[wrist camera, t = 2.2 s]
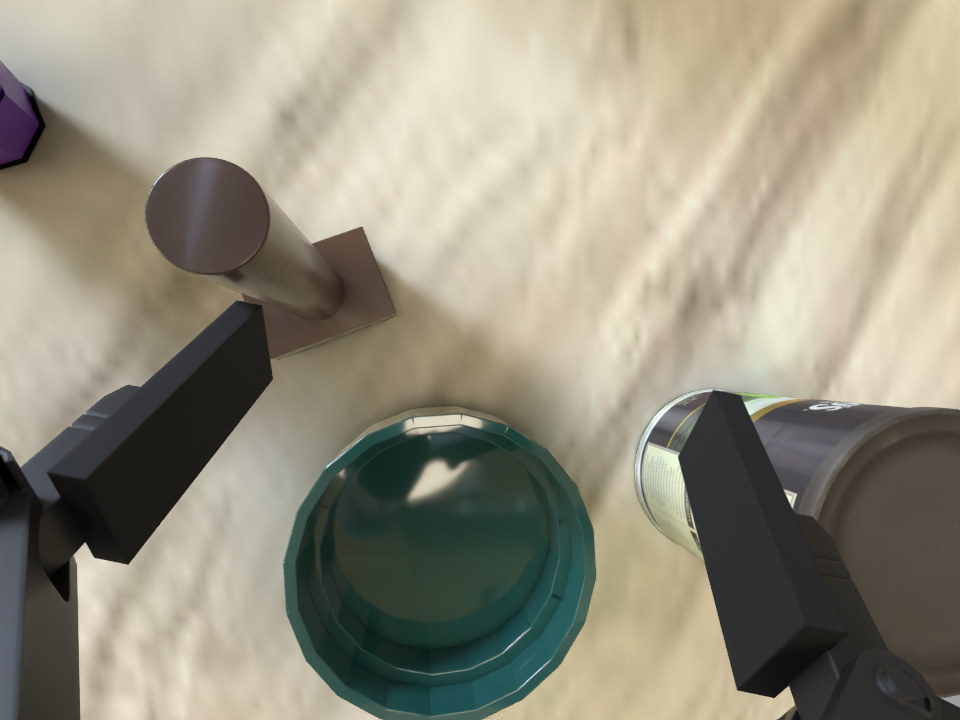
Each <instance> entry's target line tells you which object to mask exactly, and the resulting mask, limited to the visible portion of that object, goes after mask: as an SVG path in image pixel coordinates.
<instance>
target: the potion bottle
mask: <svg viewBox="0 0 960 720" xmlns="http://www.w3.org/2000/svg"><path fill="white" fill-rule="evenodd" d="M44 128H45V123H44V121H43V118H42V116H41V113H40V111H39V108H38V106H37V103H36V101H35V99H34V96H33V94H32V91H31V89H30V87H28V86H26V85H24V84H22V83H20V82H19V81H18V80H17V79H16V78H15V77H14V75H13V74H12V73H11V72H10V71H9V70H8V69H7V67H6V66H5V65H4V64H3V63H2V62H1V61H0V170H1V169H5V168H8V167H12V166H15V165H18V164H22V163H25V162H27V161H28V159H29V157H30V155H31V153H32V151H33V149H34V148H35V146H36V144H37V142H38V140H39V138H40V136H41V134H42V132H43V130H44Z"/></svg>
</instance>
